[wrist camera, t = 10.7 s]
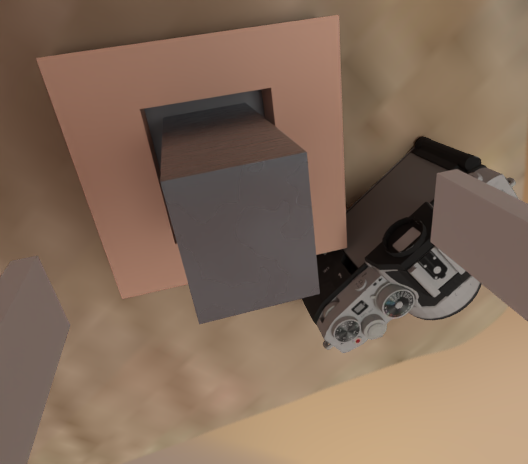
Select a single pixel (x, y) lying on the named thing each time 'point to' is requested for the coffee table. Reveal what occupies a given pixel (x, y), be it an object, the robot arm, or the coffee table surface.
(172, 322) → the coffee table surface
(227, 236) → the grey wood-topped pillar
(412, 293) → the camera
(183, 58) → the pink square frame
